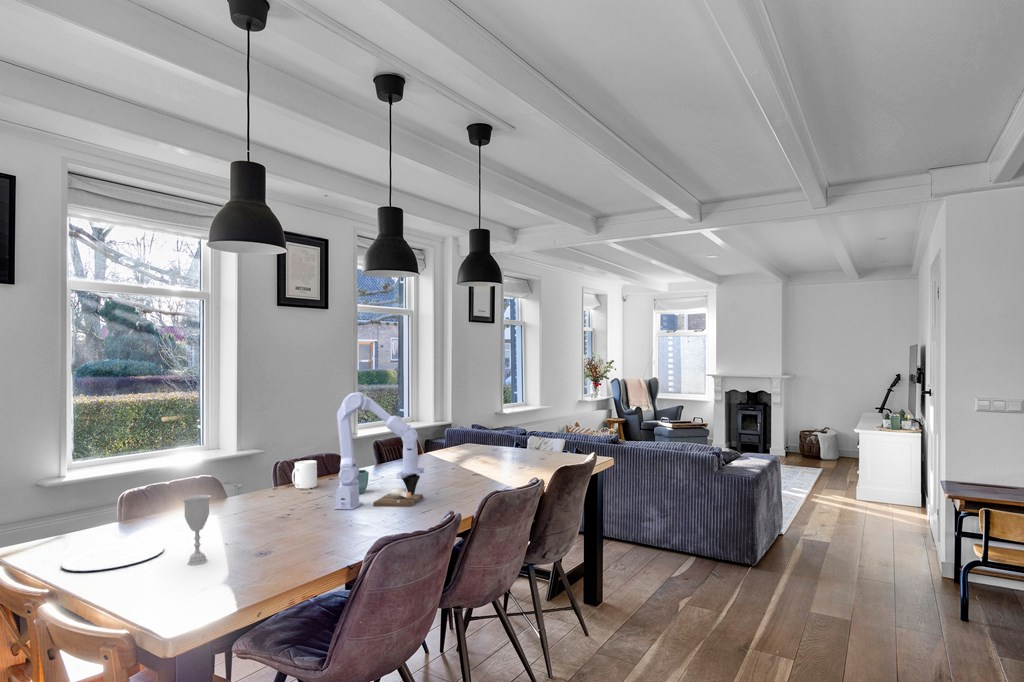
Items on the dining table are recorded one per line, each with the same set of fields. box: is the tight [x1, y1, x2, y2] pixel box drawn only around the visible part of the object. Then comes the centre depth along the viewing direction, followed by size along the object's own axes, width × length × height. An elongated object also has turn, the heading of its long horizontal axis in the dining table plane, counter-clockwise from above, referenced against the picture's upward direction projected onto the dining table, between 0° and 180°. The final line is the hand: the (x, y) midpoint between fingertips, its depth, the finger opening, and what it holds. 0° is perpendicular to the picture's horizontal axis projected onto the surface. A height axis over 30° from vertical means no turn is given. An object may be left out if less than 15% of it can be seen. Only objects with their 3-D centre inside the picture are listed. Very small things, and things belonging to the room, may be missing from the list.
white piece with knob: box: [390, 487, 411, 498], centre depth 235 cm, size 13×6×2 cm, turn 35°
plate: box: [60, 542, 165, 573], centre depth 175 cm, size 25×25×1 cm
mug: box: [291, 459, 318, 489], centre depth 271 cm, size 10×12×12 cm
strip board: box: [372, 493, 424, 508], centre depth 238 cm, size 15×15×3 cm
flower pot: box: [357, 469, 370, 494], centre depth 258 cm, size 9×9×9 cm
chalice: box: [182, 494, 212, 566], centre depth 170 cm, size 7×7×18 cm
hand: (411, 494), depth 235 cm, fingers closed
